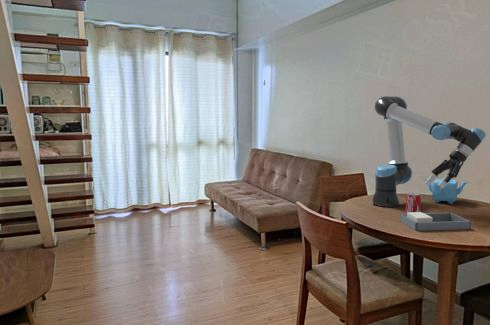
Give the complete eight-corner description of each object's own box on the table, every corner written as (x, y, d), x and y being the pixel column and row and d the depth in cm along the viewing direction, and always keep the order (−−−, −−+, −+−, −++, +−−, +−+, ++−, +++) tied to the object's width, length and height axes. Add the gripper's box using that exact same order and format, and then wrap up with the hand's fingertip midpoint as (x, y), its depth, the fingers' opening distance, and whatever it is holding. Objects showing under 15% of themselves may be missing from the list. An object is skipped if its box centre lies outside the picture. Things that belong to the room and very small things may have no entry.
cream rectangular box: (416, 228, 161) (417, 218, 161) (406, 222, 171) (406, 212, 171) (432, 228, 162) (432, 217, 161) (421, 222, 172) (421, 212, 171)
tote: (415, 232, 159) (415, 223, 158) (399, 223, 174) (400, 214, 174) (470, 231, 159) (471, 221, 159) (450, 221, 175) (450, 212, 174)
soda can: (422, 218, 182) (422, 195, 180) (407, 217, 183) (408, 195, 182) (418, 214, 188) (419, 192, 187) (404, 214, 190) (404, 192, 189)
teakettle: (446, 197, 227) (447, 174, 225) (470, 203, 209) (471, 179, 207) (420, 199, 224) (421, 176, 222) (441, 206, 205) (442, 181, 204)
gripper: (481, 159, 172) (452, 192, 173) (452, 158, 197) (427, 187, 198) (469, 149, 172) (440, 183, 173) (441, 149, 197) (416, 178, 198)
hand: (433, 185), depth 185 cm, fingers open, 13 cm apart
